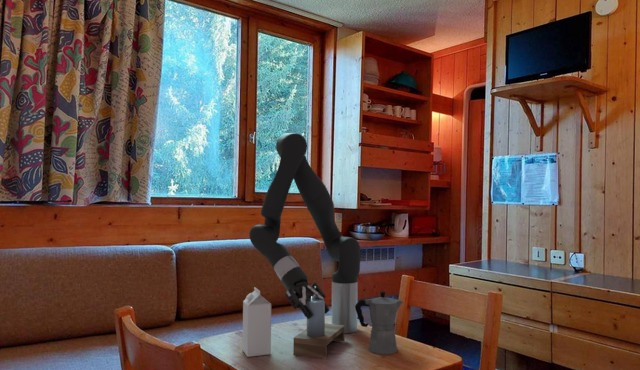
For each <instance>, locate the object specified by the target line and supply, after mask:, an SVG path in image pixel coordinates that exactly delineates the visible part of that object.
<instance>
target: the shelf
mask: <svg viewBox="0 0 640 370" xmlns="http://www.w3.org/2000/svg"><path fill="white" fill-rule="evenodd" d="M345 334H346V333H345V325H335V324H332V323H325V335H324V336H321V337H311V336H308V335H307V328H306V329H305V330H303V331H301V332H300V333H298V334H297V335H295V336H293V351H292V352H293V354H292V355H294V356H301V357H309V358H316V359H318V358H319V359H325V360H326V359H327V357H328V356H327V355H328V354H327V353H328V351H327V350H328V349H327V347H328V346H327V345H329V344H330V343H331V342H340V343H344V342H345V337H346V335H345Z"/></svg>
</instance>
